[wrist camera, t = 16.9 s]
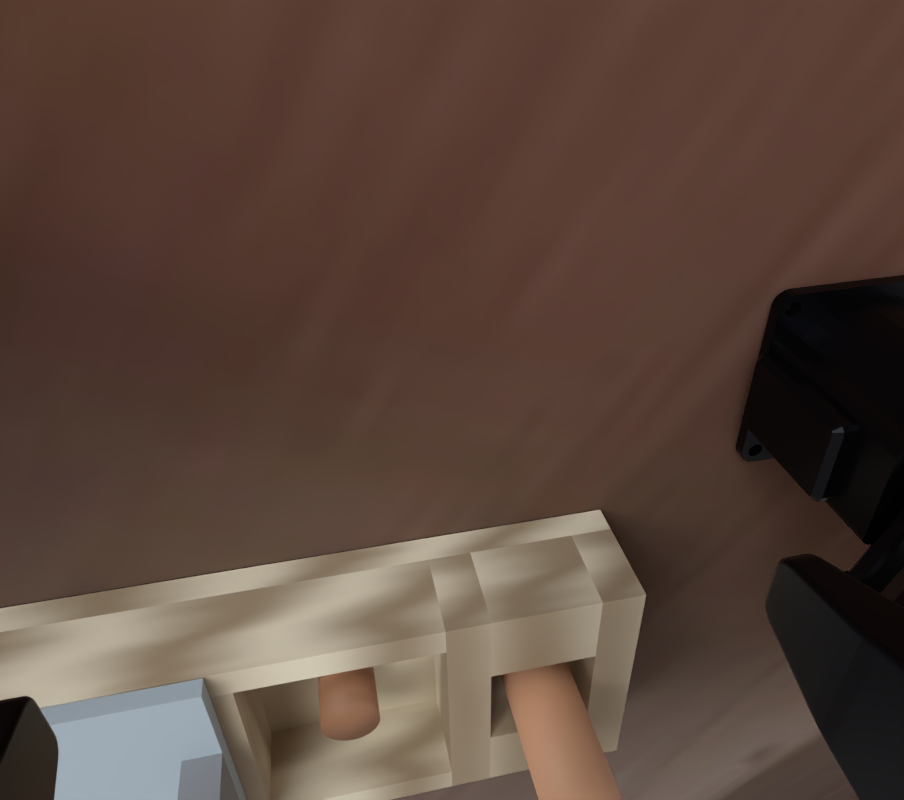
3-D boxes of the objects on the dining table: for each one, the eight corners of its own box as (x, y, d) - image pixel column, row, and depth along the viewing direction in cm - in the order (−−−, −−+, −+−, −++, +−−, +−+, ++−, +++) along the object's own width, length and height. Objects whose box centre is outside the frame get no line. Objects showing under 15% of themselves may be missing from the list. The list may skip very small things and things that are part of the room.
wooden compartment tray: (600, 509, 26) (646, 594, 23) (581, 663, 31) (616, 750, 28) (-61, 618, 23) (-115, 735, 20) (38, 770, 28) (8, 883, 25)
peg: (550, 600, 27) (624, 779, 21) (549, 643, 28) (620, 823, 23) (487, 614, 27) (545, 799, 21) (490, 656, 28) (545, 842, 22)
